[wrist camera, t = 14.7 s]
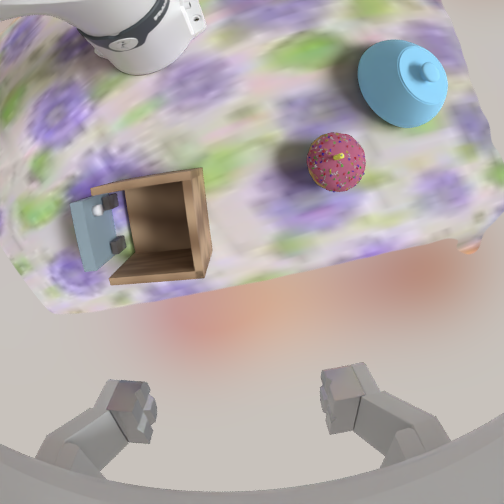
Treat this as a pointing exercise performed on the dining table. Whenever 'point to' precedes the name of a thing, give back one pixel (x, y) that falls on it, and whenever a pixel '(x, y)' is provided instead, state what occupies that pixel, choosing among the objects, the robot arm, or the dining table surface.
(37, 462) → the robot arm
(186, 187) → the cabinet
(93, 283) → the dining table surface
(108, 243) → the door
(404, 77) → the sugar bowl
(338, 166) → the cupcake
